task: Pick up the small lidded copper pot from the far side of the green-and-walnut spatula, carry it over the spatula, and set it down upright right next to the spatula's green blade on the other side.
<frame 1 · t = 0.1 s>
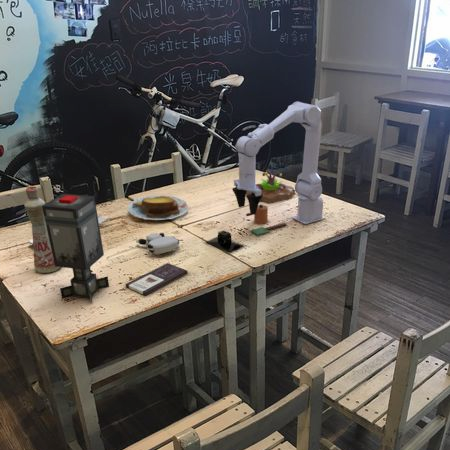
hand: (247, 209, 183), 10 cm above the table, tool pointing down, fingers open, 7 cm apart
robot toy: (159, 249, 181), on the table
bottle: (49, 268, 170), on the table
food on plate: (158, 212, 212), on the table
pot: (260, 221, 200), on the table
chocolate bar: (157, 280, 161), on the table
spoon: (69, 235, 194), on the table
spatula: (269, 229, 193), on the table
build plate: (224, 245, 182), on the table
explosive device: (86, 293, 155), on the table
plant: (269, 195, 227), on the table
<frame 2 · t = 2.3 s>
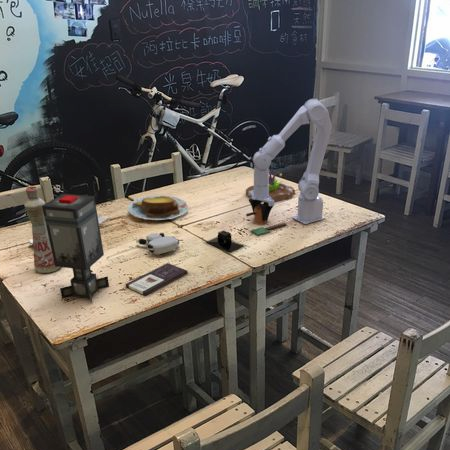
hand: (260, 218, 199), 1 cm above the table, tool pointing down, fingers closed on pot, 5 cm apart
pot: (260, 221, 200), on the table, touching gripper
everything else where it was.
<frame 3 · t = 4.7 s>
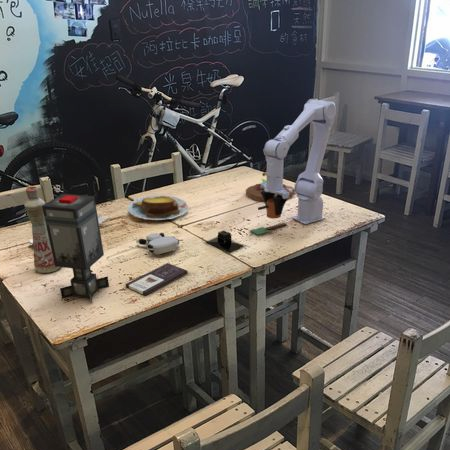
hand: (273, 212, 185), 8 cm above the table, tool pointing down, fingers closed on pot, 5 cm apart
pot: (273, 215, 186), point 7 cm above the table, touching gripper
everything else where it was.
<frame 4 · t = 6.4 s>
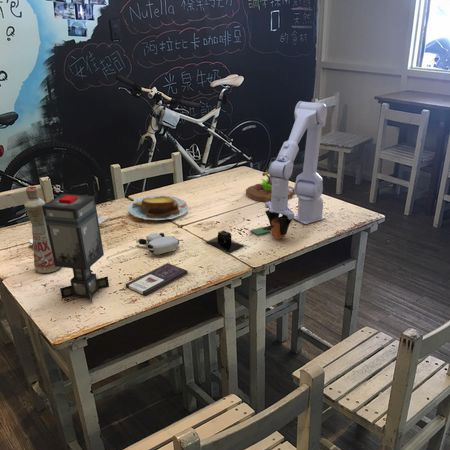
hand: (278, 231, 184), 3 cm above the table, tool pointing down, fingers closed on pot, 5 cm apart
pot: (278, 235, 185), point 1 cm above the table, touching gripper
everything else where it was.
when the fingers open (1 cm above the table, at t = 7.3 s): pot stays where it is, on the table.
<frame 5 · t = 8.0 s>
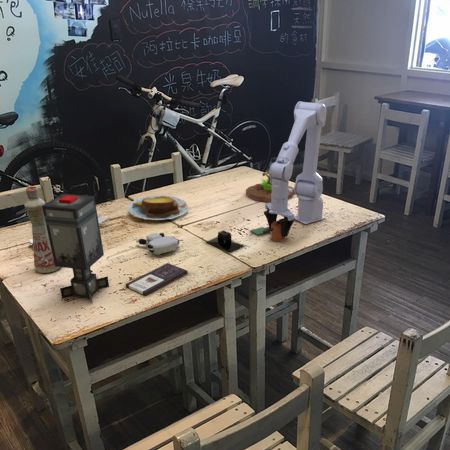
hand: (278, 233, 185), 2 cm above the table, tool pointing down, fingers open, 7 cm apart
pot: (278, 238, 186), on the table
everything else where it was.
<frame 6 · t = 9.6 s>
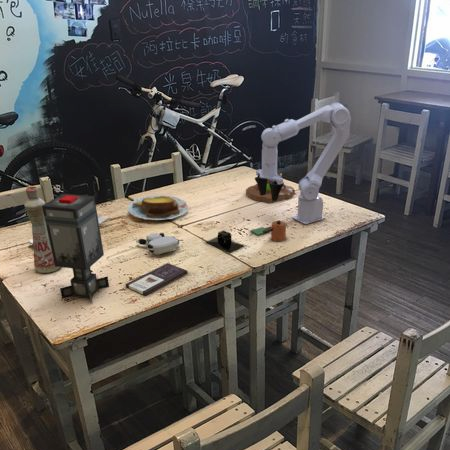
hand: (268, 197, 196), 9 cm above the table, tool pointing down, fingers open, 7 cm apart
nothing on the table moved.
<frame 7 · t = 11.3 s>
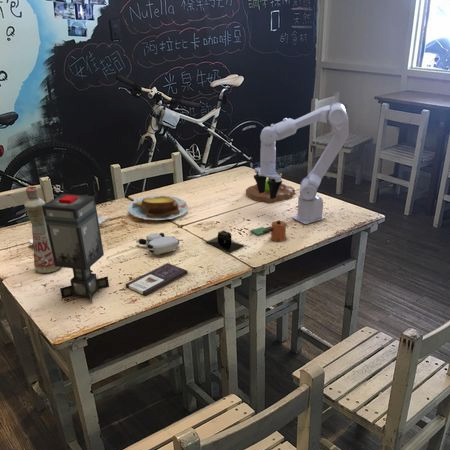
hand: (267, 195, 198), 9 cm above the table, tool pointing down, fingers open, 7 cm apart
nothing on the table moved.
at the end: pot inside the target area on the table beside the spatula (2.1 cm from its centre), on the table; pot tilted 0°; the gripper is holding nothing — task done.
